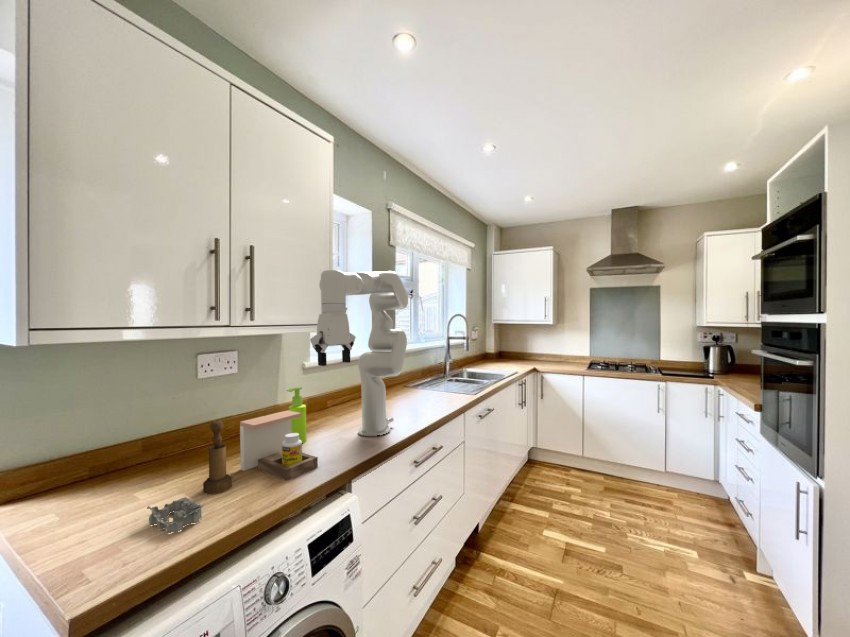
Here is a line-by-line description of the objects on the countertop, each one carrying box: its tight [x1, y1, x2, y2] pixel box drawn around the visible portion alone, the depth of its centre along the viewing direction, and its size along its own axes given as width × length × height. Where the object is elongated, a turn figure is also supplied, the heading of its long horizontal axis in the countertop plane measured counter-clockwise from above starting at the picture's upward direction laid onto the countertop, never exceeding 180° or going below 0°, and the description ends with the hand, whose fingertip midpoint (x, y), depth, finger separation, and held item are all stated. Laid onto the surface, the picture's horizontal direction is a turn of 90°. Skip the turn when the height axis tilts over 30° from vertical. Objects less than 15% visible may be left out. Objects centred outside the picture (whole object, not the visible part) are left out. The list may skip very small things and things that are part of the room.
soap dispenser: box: [286, 386, 307, 444], centre depth 130 cm, size 6×7×20 cm
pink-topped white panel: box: [239, 409, 301, 472], centre depth 111 cm, size 16×8×14 cm, turn 145°
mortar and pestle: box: [202, 419, 233, 495], centre depth 94 cm, size 7×6×18 cm
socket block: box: [257, 451, 319, 481], centre depth 106 cm, size 11×14×3 cm
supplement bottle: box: [282, 433, 303, 467], centre depth 105 cm, size 6×6×10 cm
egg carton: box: [146, 496, 204, 533], centre depth 78 cm, size 11×8×4 cm
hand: (334, 363), depth 112 cm, fingers open, 9 cm apart
